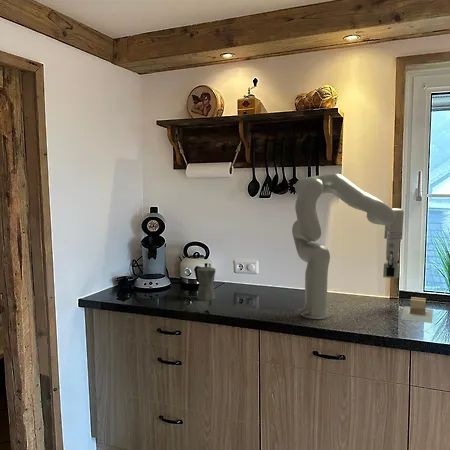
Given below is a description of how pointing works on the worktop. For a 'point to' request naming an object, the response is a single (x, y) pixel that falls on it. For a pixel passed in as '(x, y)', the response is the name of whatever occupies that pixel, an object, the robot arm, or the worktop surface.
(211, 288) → the coffeepot
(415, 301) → the oak block
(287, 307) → the worktop surface
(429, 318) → the plan board
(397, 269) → the green block
